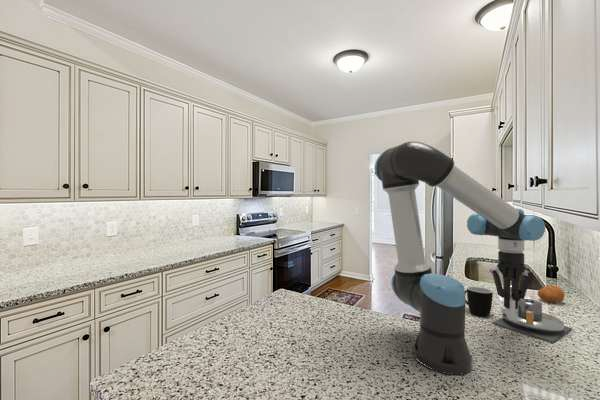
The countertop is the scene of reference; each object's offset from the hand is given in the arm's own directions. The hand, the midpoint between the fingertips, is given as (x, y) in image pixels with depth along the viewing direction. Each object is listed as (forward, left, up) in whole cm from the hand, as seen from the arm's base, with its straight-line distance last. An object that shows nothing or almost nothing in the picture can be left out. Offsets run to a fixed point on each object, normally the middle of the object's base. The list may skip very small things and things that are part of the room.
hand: (510, 317), depth 102 cm
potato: (+55, +4, -5) cm, 55 cm away
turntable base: (+12, -2, -5) cm, 13 cm away
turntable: (+12, -2, -3) cm, 13 cm away
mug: (+9, +16, -5) cm, 19 cm away
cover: (+10, -2, -2) cm, 11 cm away
